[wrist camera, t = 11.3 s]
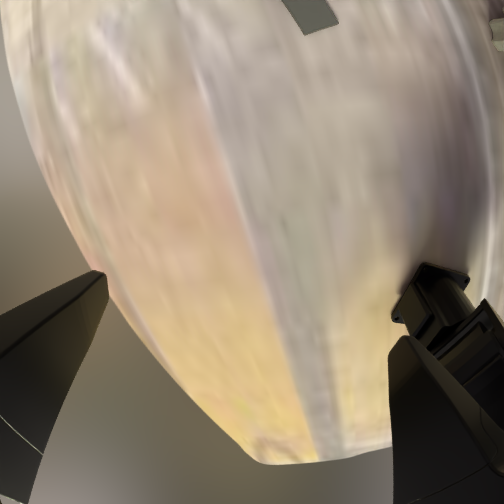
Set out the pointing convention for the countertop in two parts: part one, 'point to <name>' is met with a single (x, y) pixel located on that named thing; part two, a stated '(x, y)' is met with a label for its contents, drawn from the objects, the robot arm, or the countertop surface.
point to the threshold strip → (311, 14)
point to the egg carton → (498, 32)
